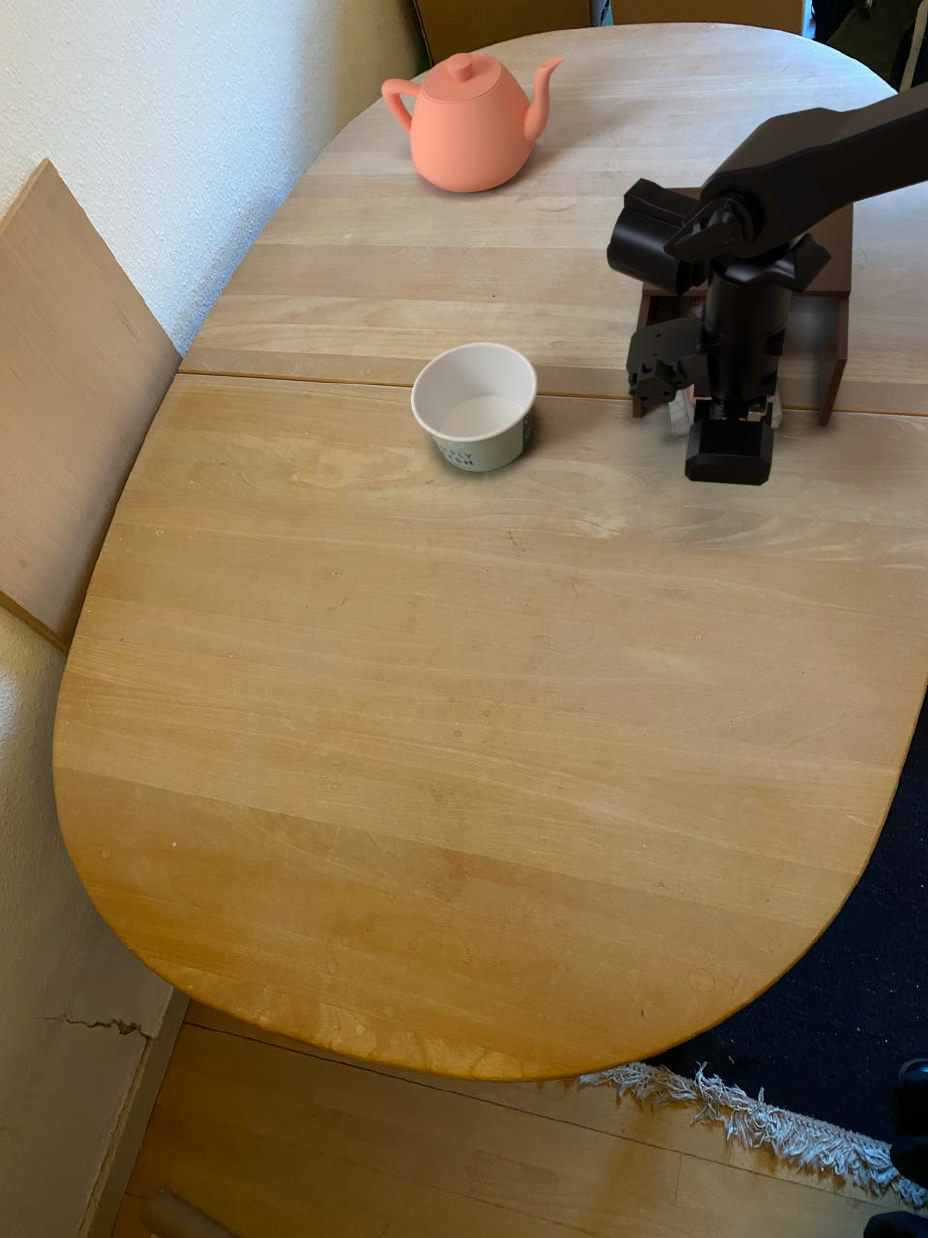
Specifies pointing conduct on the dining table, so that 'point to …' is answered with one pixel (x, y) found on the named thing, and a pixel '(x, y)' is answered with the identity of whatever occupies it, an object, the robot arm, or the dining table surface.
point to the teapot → (471, 120)
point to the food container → (477, 404)
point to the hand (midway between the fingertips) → (727, 448)
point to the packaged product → (684, 399)
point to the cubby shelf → (829, 284)
